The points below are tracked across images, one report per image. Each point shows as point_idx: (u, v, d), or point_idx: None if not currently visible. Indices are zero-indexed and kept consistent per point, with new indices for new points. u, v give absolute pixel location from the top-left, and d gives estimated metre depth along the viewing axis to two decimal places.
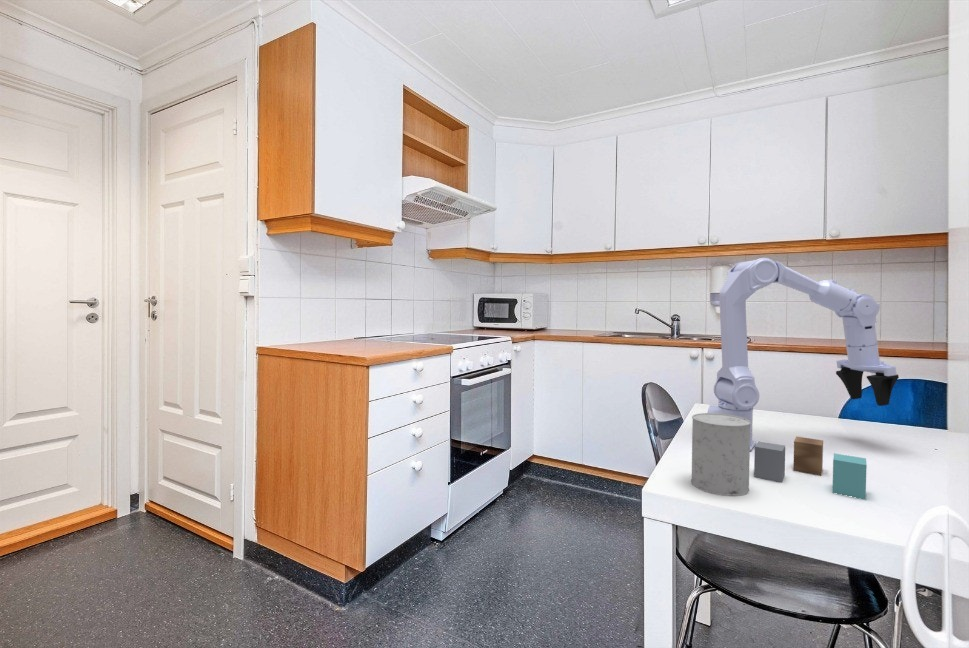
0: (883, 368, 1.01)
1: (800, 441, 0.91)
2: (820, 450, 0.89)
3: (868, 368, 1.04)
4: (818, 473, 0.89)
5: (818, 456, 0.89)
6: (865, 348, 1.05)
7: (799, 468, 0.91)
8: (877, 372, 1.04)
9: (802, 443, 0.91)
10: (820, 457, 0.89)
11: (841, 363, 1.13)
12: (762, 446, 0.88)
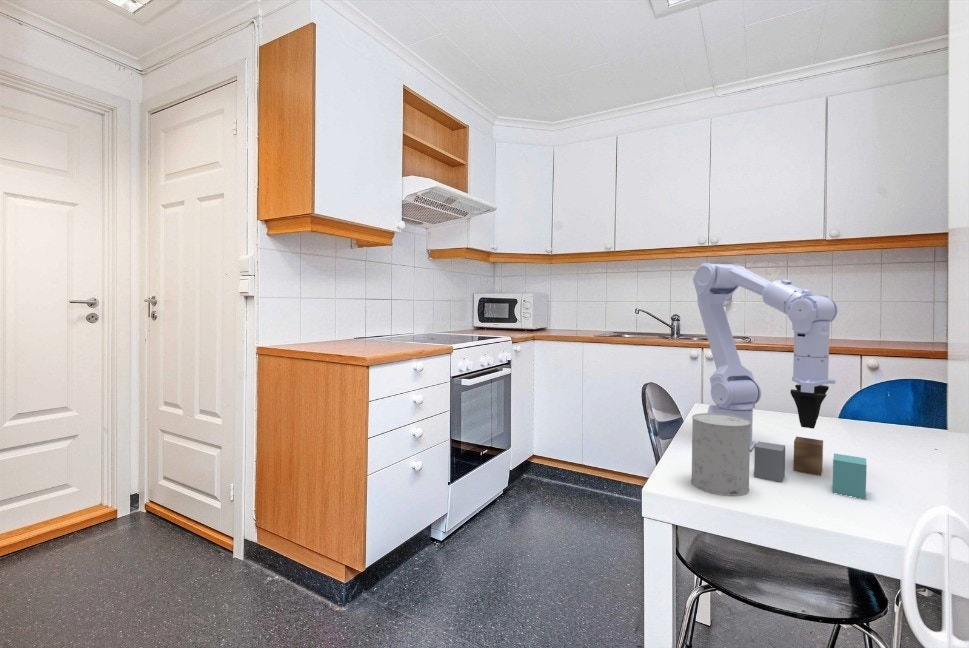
0: (801, 382, 0.87)
1: (800, 441, 0.91)
2: (820, 450, 0.89)
3: (796, 381, 0.90)
4: (818, 473, 0.89)
5: (818, 456, 0.89)
6: (802, 358, 0.90)
7: (799, 468, 0.91)
8: None
9: (802, 443, 0.91)
10: (820, 457, 0.89)
11: None
12: (762, 446, 0.88)
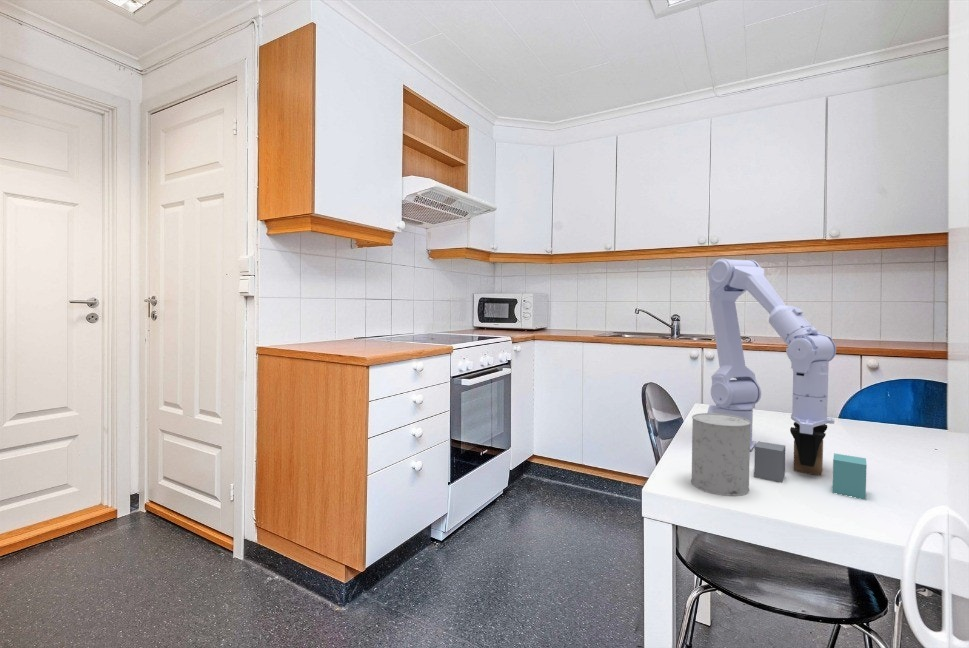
0: (800, 423, 0.87)
1: None
2: (820, 450, 0.89)
3: (795, 420, 0.90)
4: (818, 473, 0.89)
5: (818, 456, 0.89)
6: (801, 398, 0.90)
7: (799, 468, 0.91)
8: None
9: None
10: (820, 457, 0.89)
11: None
12: (762, 446, 0.88)
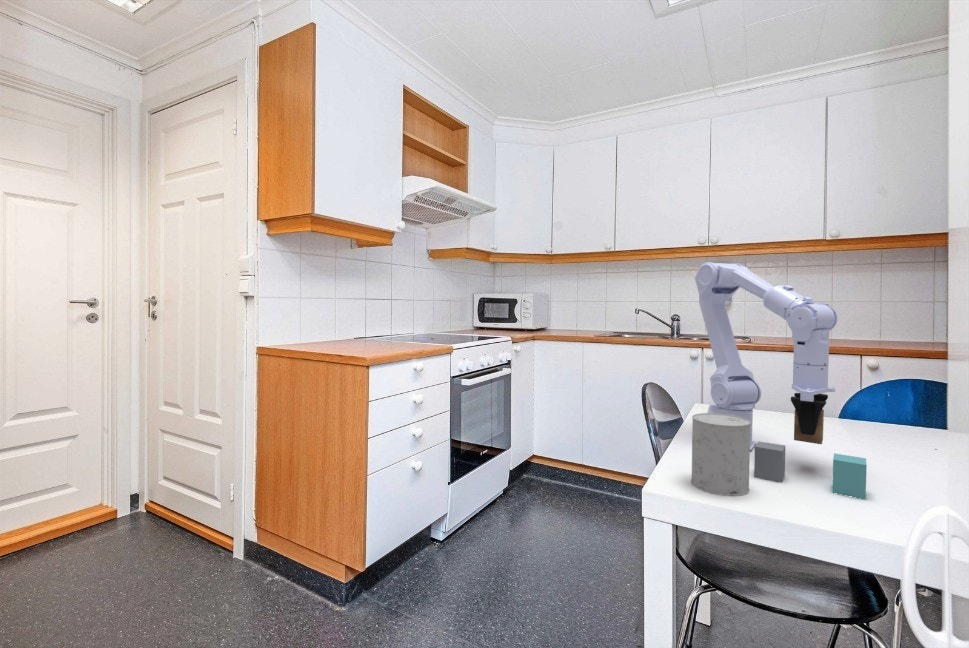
0: (800, 391, 0.87)
1: None
2: (821, 418, 0.89)
3: (796, 389, 0.90)
4: (819, 441, 0.89)
5: (819, 424, 0.89)
6: (801, 367, 0.90)
7: (800, 437, 0.91)
8: None
9: None
10: (821, 425, 0.89)
11: None
12: (762, 446, 0.88)
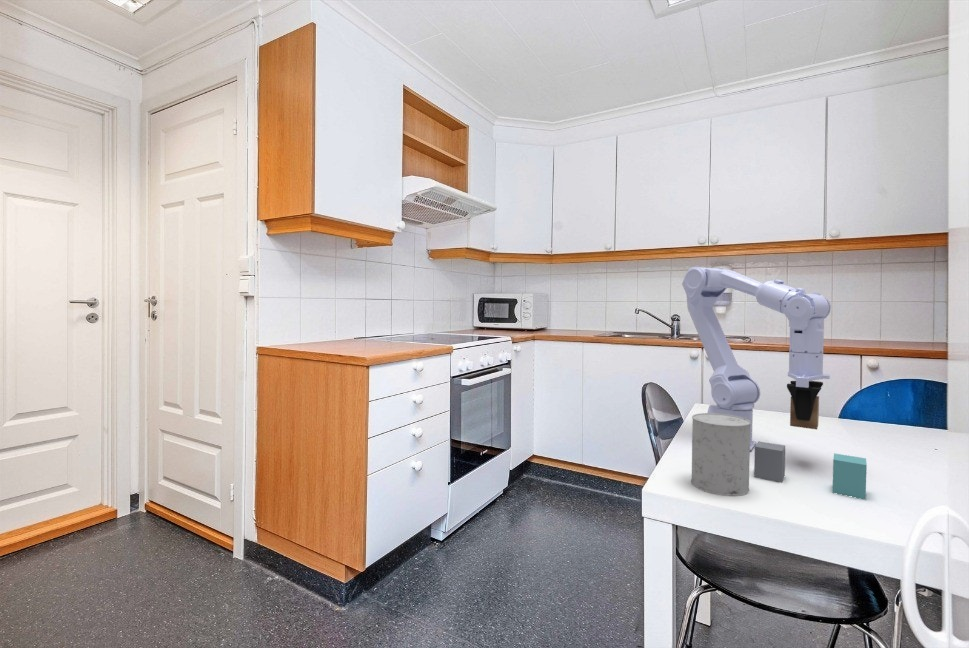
0: (796, 377, 0.90)
1: None
2: (816, 404, 0.91)
3: (792, 376, 0.93)
4: (814, 427, 0.92)
5: (814, 410, 0.92)
6: (797, 354, 0.93)
7: (796, 423, 0.94)
8: None
9: None
10: (816, 411, 0.91)
11: None
12: (762, 446, 0.88)
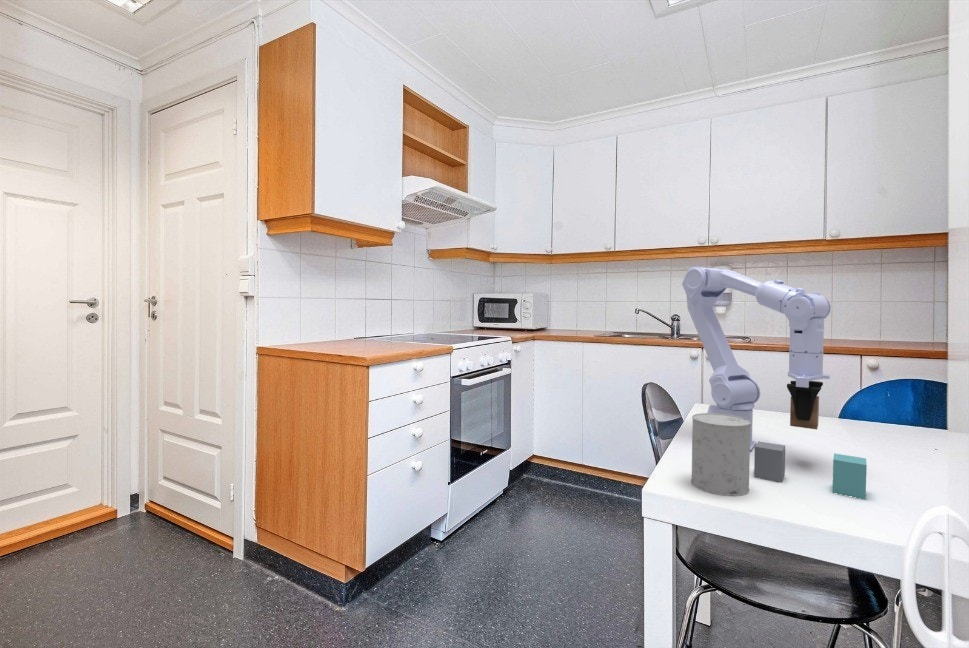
0: (796, 377, 0.90)
1: None
2: (816, 404, 0.91)
3: (792, 376, 0.93)
4: (814, 427, 0.92)
5: (814, 410, 0.92)
6: (797, 354, 0.93)
7: (796, 423, 0.94)
8: None
9: None
10: (816, 411, 0.91)
11: None
12: (762, 446, 0.88)
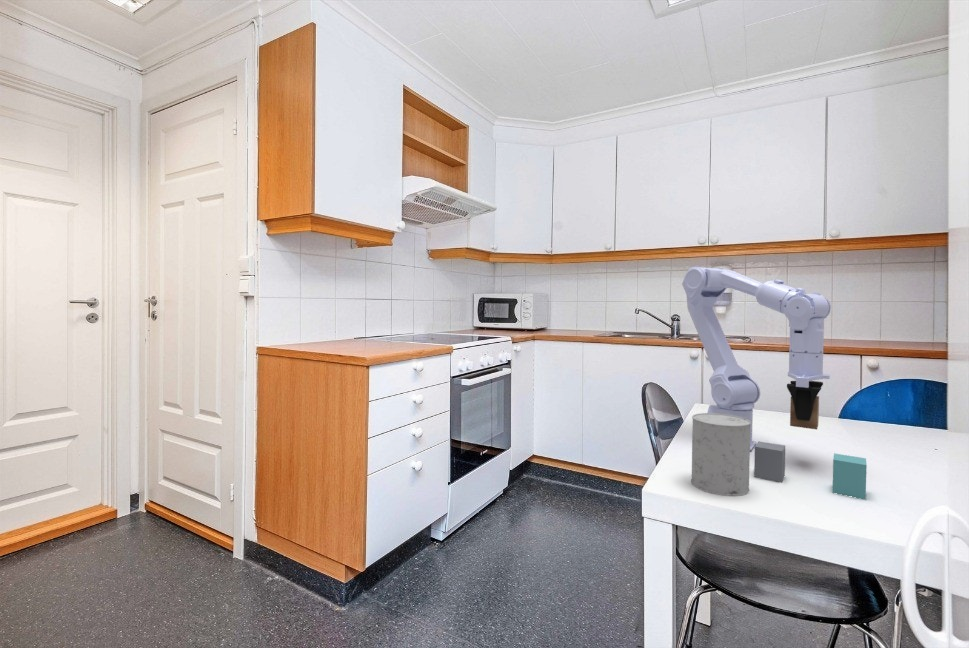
0: (796, 377, 0.90)
1: None
2: (816, 404, 0.91)
3: (792, 376, 0.93)
4: (814, 427, 0.92)
5: (814, 410, 0.92)
6: (797, 354, 0.93)
7: (796, 423, 0.94)
8: None
9: None
10: (816, 411, 0.91)
11: None
12: (762, 446, 0.88)
